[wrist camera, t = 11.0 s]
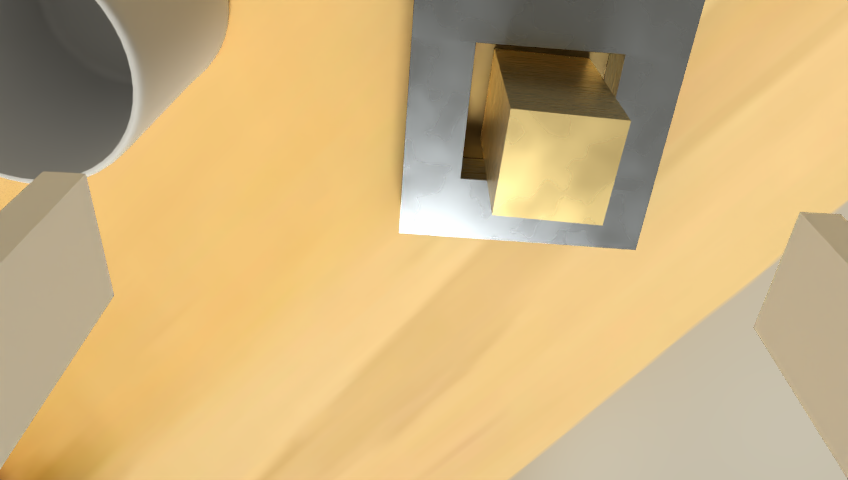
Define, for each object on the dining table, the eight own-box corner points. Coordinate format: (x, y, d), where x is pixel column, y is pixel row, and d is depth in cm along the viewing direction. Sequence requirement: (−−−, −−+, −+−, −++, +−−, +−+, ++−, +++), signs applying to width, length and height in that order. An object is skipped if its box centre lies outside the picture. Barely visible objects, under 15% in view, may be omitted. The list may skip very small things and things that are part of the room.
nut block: (494, 48, 32) (510, 108, 25) (588, 58, 32) (631, 120, 25) (480, 137, 34) (492, 215, 27) (569, 146, 34) (602, 225, 28)
